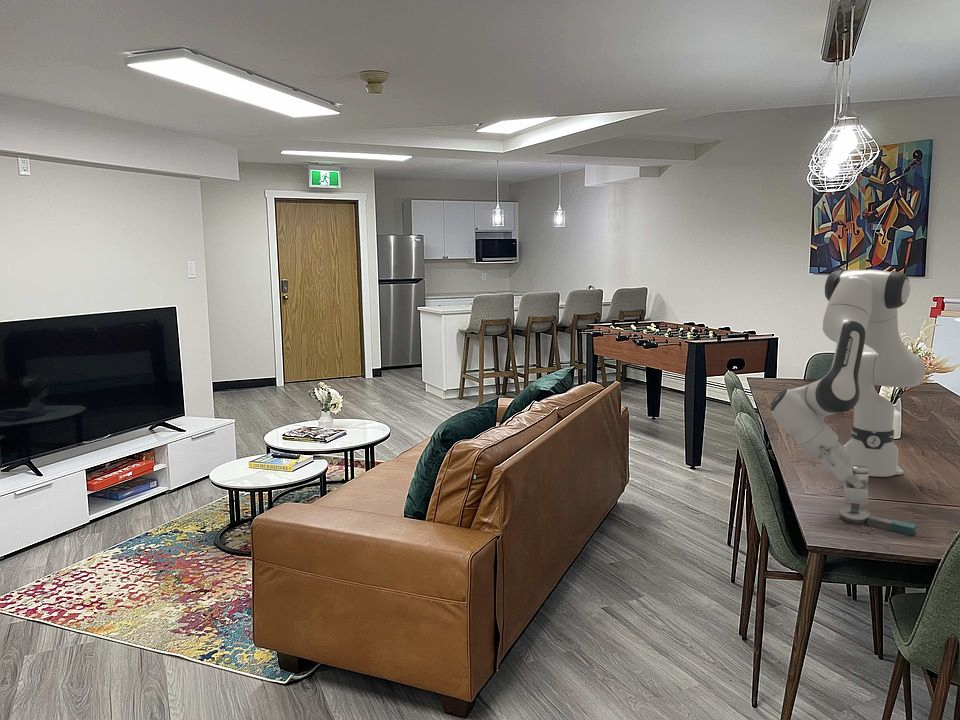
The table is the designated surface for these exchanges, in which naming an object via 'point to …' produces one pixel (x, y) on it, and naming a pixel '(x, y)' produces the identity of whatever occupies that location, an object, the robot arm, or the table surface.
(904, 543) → the table surface
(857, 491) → the cylinder on square base
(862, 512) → the ratchet
